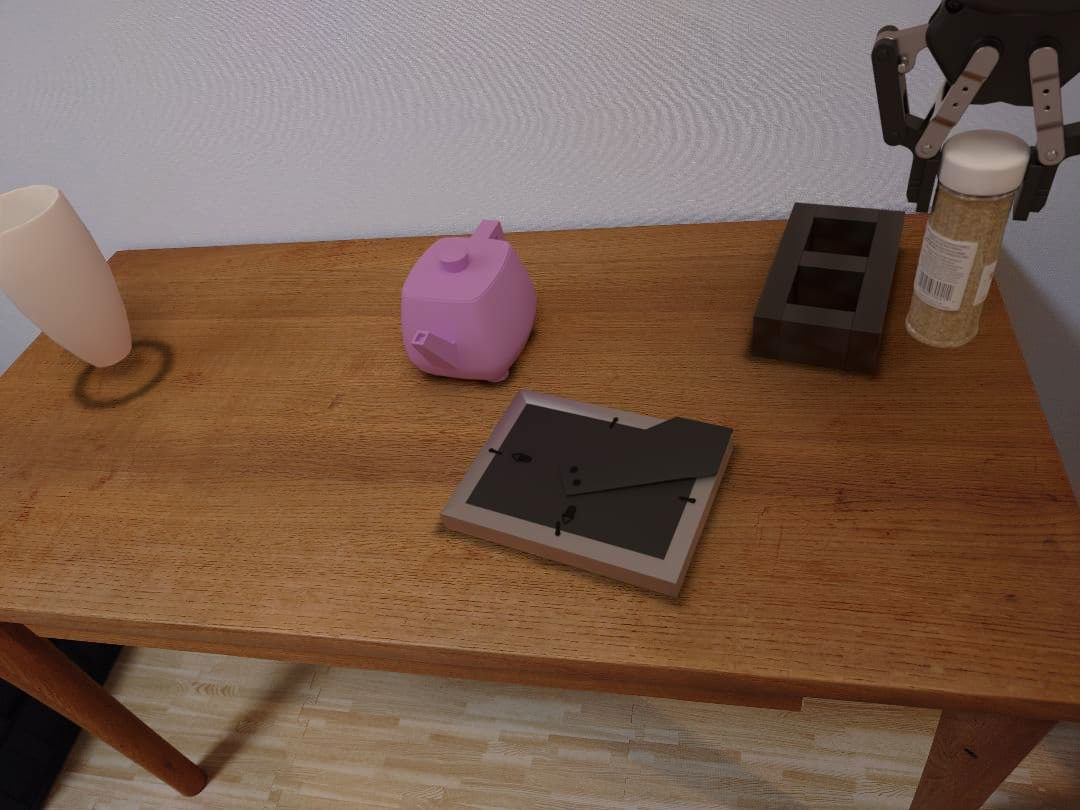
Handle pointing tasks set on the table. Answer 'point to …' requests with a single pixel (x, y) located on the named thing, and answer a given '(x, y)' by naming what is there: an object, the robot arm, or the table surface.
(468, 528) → the picture frame
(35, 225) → the peach conical vase
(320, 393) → the table surface
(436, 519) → the table surface
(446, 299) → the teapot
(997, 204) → the spice jar
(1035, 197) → the robot arm
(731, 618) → the table surface
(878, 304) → the holder
